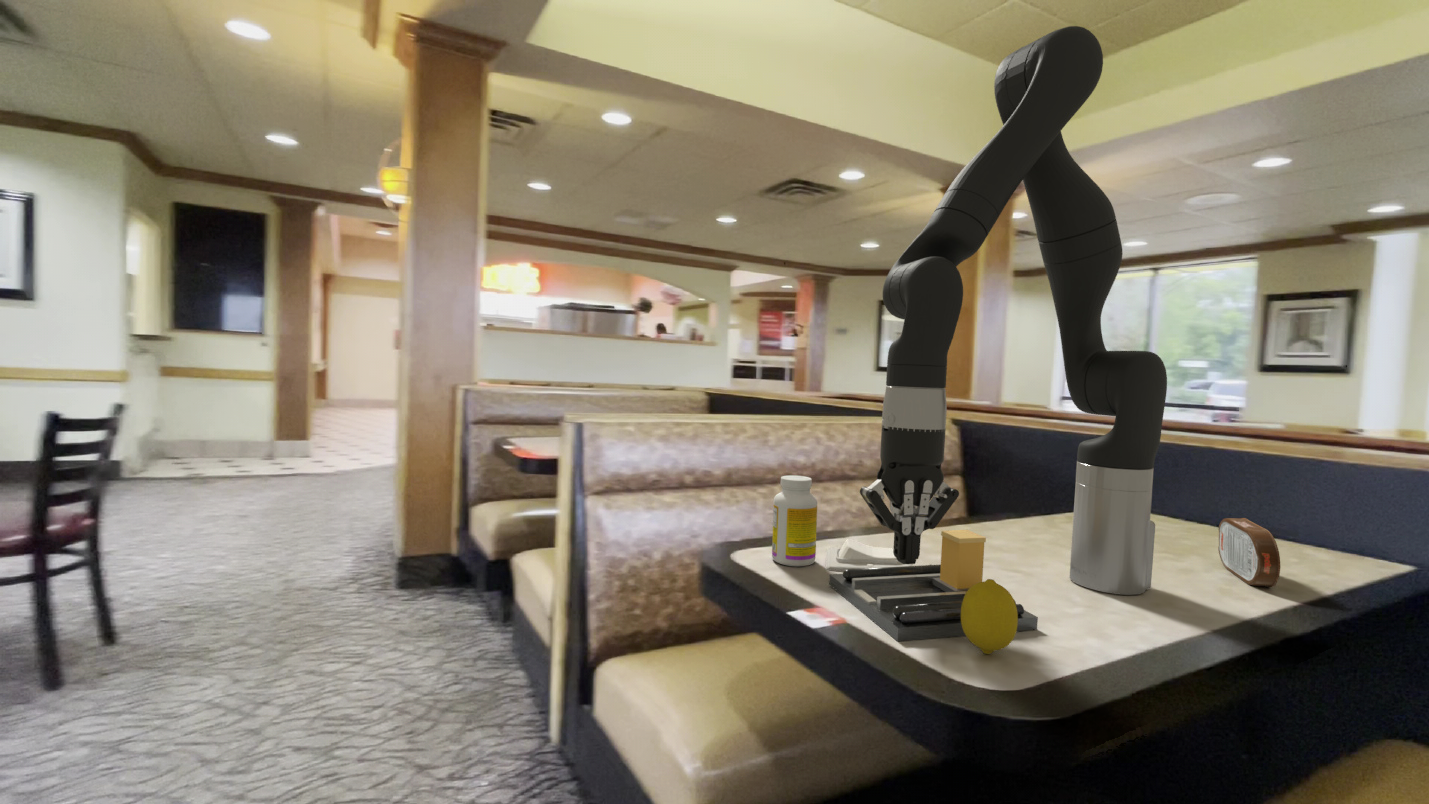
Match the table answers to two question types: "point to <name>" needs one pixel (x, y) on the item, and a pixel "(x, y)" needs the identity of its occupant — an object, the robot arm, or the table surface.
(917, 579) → the panel
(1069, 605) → the table surface
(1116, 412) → the robot arm
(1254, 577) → the tin
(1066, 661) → the table surface
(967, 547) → the lever
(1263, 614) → the table surface
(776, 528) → the supplement bottle
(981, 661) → the table surface
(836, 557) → the light switch
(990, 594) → the lemon
